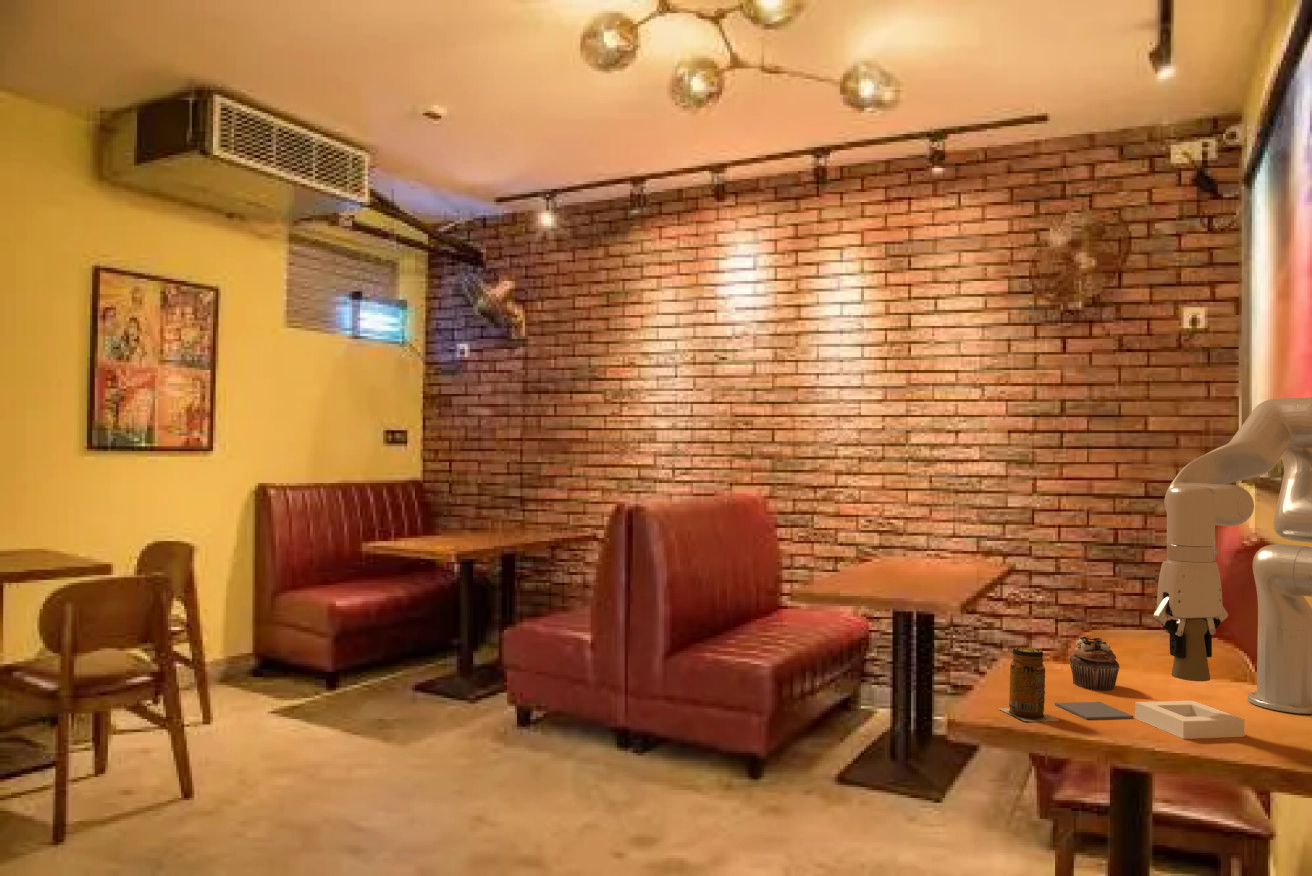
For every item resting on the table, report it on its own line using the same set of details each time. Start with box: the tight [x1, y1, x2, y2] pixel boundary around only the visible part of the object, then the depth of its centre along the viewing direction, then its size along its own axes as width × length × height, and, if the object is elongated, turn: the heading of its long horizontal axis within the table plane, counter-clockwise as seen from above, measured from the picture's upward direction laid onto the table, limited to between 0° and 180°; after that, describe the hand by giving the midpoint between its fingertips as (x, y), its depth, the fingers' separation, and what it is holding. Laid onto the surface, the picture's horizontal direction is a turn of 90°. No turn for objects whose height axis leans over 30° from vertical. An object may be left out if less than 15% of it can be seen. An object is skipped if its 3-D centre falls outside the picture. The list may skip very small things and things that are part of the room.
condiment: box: [998, 646, 1061, 723], centre depth 170 cm, size 7×8×12 cm
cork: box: [1171, 619, 1211, 682], centre depth 165 cm, size 6×6×11 cm
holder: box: [1134, 700, 1245, 740], centre depth 165 cm, size 12×12×3 cm
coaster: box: [1054, 701, 1134, 721], centre depth 174 cm, size 10×10×1 cm
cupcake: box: [1068, 636, 1120, 692], centre depth 194 cm, size 10×10×10 cm
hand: (1190, 655), depth 165 cm, fingers closed on cork, 4 cm apart
